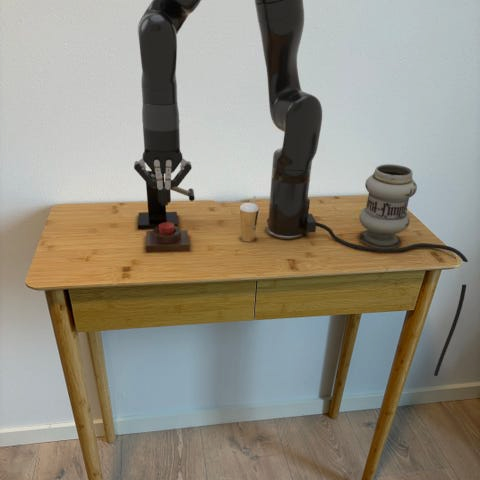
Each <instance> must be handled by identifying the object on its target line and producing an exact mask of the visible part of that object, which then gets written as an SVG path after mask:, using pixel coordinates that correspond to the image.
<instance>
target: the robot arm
mask: <svg viewBox="0 0 480 480" xmlns="http://www.w3.org/2000/svg"><path fill="white" fill-rule="evenodd" d="M201 2H202V0H152V1H151V2H150V4H149V5H148V7H147V8H146V9H145V11H144V13H143V14H142V16H141V18H140V20H139V21H138V24H137V36H138V44H139V53H140V54H139V55H140V64H141V71H142V72H141V79H140V80H141V83H140V84H141V98H142V99H141V100H142V108H141V118H142V119H141V121H142V132H143V133H142V134H143V148H144V151H143V153H142V158H140V159H139V160H136V161H134V164H133V169H134V171H136V173H137V174H138V175H139V176H140V177H141V178H142V179H143V180H144V182H145V184H146V183H147V184H148V185H149V186H150V187H155V188H157V190H158V201H159V203H161V205H166V206H169V204H170V203H171V202H172V197H171V191H172V190H171V188H173V187H179V186H180V184H181V183H182V182H183V181H184V179H185V178H186V177H187V175H188V174H189V172H190V171H191V170H192V163H191V161H189V160H188V161H187V160H186V159H185V158H183V153H182V151H181V139H180V138H181V137H180V135H181V134H180V133H181V132H180V123H181V122H180V112H179V105H178V103H179V102H178V82H177V73H176V72H177V59H178V57H177V56H178V54H177V53H178V36H177V35H178V33H179V32H180V30H181V28H182V27H183V25H184V23H185V22H186V20H187V18H188V17H189V16H190V15H191V14H192V13H194V11H196V9H197V8H198V6H199V5H200V3H201ZM254 4H255V12H256V17H257V23H258V27H259V33H260V38H261V44H262V45H261V46H262V51H263V57H264V63H265V67H266V77H267V78H266V79H267V93H268V107H269V115H270V118H271V121H272V124H273V125H274V126H275V127H276V128H277V130H280V131H281V132H283V133H284V134H283V141H282V146H281V147H280V148H277V149H276V150H274V152H273V154H272V164H271V166H272V167H271V179H270V190H269V191H270V192H269V205H268V218H267V219H266V224H267V227H266V228H267V229H266V232H267V233H268V235H270V236H272V237H274V238H276V239H280V240H295V239H299V238H302V237H306V236H307V233H316V231H317V227H318V228H321V229H323V230H325V231H327V232H328V234H329V235H330V237H331V239H333V240H335V241H336V242H338V243H340V244H341V245H344V246H346V247H349V248H353V249H358V250H362V251H367V252H375V253H401V252H406V251H409V250H412V249H417V248H429V249H430V248H431V249H439V250H445V251H448V252H452V253H454V254H455V255H457V256H458V257H459V258H460V259H461V260H462V262H464V263H468V262H469V260H468V259H467V257H466V256H465V255H464V254H463V253H462V252H461V251H459V249H457V248H455V247H452V246H449V245H444V244H438V243H425V242H421V243H414V244H410V245H407V246H403V247H394V248H375V247H371V246H368V245H361V244H357V243H353V242H349V241H346V240H343V239H341V238H340V237H338V236H337V235H336V234H335V233H334V231H333V230H332V229H331V227H329V226H327V225H325V224H323V223H322V222H321V223H320V222H318V221H317V220H316V219H315V217H314V215H313V213H310V212H309V211H310V202H311V200H310V198H309V191H310V182H311V173H312V167H313V160H314V158H315V156H316V154H317V151H318V148H319V140H320V137H321V136H320V135H321V129H322V123H323V108H322V104H321V102H320V100H319V99H318V98H317V97H316V96H315V95H313V94H311V93H309V92H306V91H304V90H302V87H301V82H300V76H299V71H298V70H299V69H298V54H299V50H300V49H299V48H300V45H301V41H302V38H303V32H304V28H305V27H304V26H305V7H304V0H254ZM147 167H148V168H149V169H150V171H153V172H154V173H155V174H156V180H154V179H153V177H152V176H151V175H150V174H149V173H148V172H147V171H148V170H147ZM178 167H179V168H180V170H179V171H178V172H177V173H176V174H175V176H174V177H173V179H172V174H173V173H174V172H175V171H176V169H178ZM163 173H164V182H165V187H163V181H162V174H163ZM164 198H165V203H164ZM466 291H467V284H462V285H461V290H460V295H459V300H458V304H457V308H456V312H455V315H454V318H453V320H452V324H451V327H450V330H449V332H448V335H447V338H446V340H445V342H444V345H443V348H442V350H441V353H440V355H439V358H438V361H437V364H436V367H435V369H434V373H433V376H434V377H438V375H439V372H440V370H441V367H442V363H443V360H444V358H445V355H446V353H447V350H448V348H449V345H450V342H451V340H452V338H453V335H454V333H455V331H456V330H455V329H456V327H457V324H458V322H459V319H460V315H461V312H462V308H463V305H464V302H465V301H464V300H465V296H466Z"/></svg>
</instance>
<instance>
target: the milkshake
mask: <svg viewBox="0 0 480 480" xmlns="http://www.w3.org/2000/svg"><path fill="white" fill-rule="evenodd" d="M255 202H256V195H254V196H253V199H252V202H243V203H242V204H241V205H240V206H239V216H240V237H241V240H242V241H244V242H253V241H254V240H255V238H256V231H257V225H258V217H259V216H258V215H259V210H260V207H259V205H258V204H257V203H255Z"/></svg>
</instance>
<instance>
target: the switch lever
mask: <svg viewBox="0 0 480 480" xmlns="http://www.w3.org/2000/svg"><path fill="white" fill-rule="evenodd" d="M151 176H156V175H155V174H152V173H151ZM164 186H165V181H164ZM170 191H173V192H176V193H178V194H181V195H184V196H186V197H188V200H189V201H190V202H194V201H195V199H196V198H195V197H196V196H195V190H194V189H193V188H189V189H188V190H187V189H184V188H182V187H179V186H178V187H173V188H171V190H170Z"/></svg>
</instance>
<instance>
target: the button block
mask: <svg viewBox="0 0 480 480" xmlns="http://www.w3.org/2000/svg"><path fill="white" fill-rule="evenodd" d="M174 230H175V232H174V233H173V234H169V235H164V234H160V233H159V226H158V227H156V228H154V229H152V230H146V231H145V252H146V253H169V252H190V240H189V232H188V229H181V228H180V227H179V226H178V227H177V226H174Z"/></svg>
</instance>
